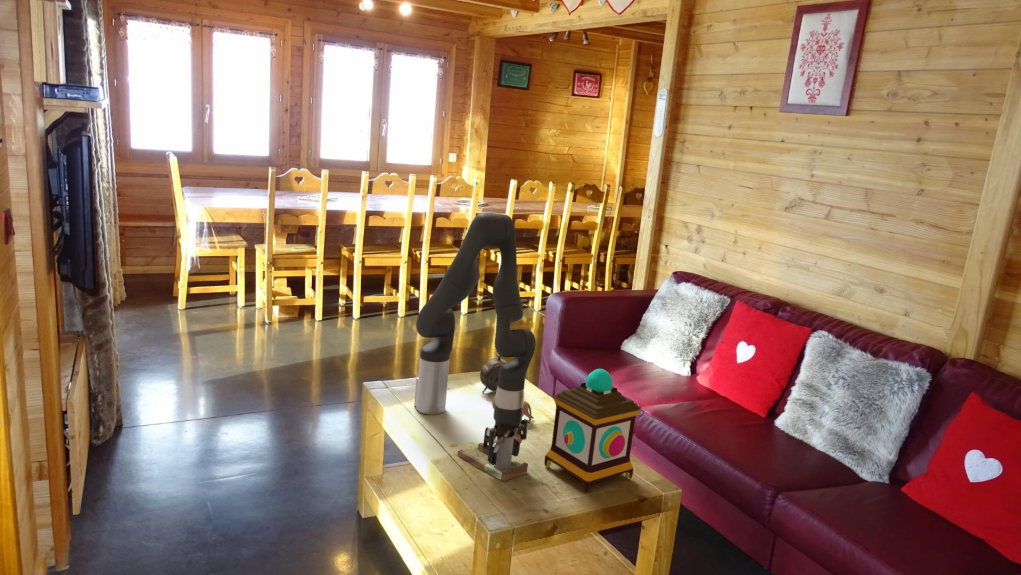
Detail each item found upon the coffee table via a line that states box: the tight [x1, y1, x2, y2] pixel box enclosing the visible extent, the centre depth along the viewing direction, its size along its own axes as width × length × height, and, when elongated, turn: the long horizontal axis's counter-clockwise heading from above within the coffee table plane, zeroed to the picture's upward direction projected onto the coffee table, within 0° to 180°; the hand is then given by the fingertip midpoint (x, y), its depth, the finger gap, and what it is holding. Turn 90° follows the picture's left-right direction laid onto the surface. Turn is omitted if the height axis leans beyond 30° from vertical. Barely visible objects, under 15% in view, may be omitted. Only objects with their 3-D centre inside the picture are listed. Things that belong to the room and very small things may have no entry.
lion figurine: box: [491, 396, 534, 424], centre depth 229 cm, size 15×5×9 cm, turn 113°
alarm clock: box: [479, 350, 508, 394], centre depth 250 cm, size 11×5×16 cm, turn 119°
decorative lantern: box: [543, 368, 642, 494], centre depth 197 cm, size 20×20×30 cm
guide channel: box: [457, 442, 529, 482], centre depth 200 cm, size 18×9×2 cm, turn 46°
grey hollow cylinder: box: [493, 434, 514, 472], centre depth 196 cm, size 4×4×10 cm
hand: (503, 459), depth 197 cm, fingers open, 8 cm apart
